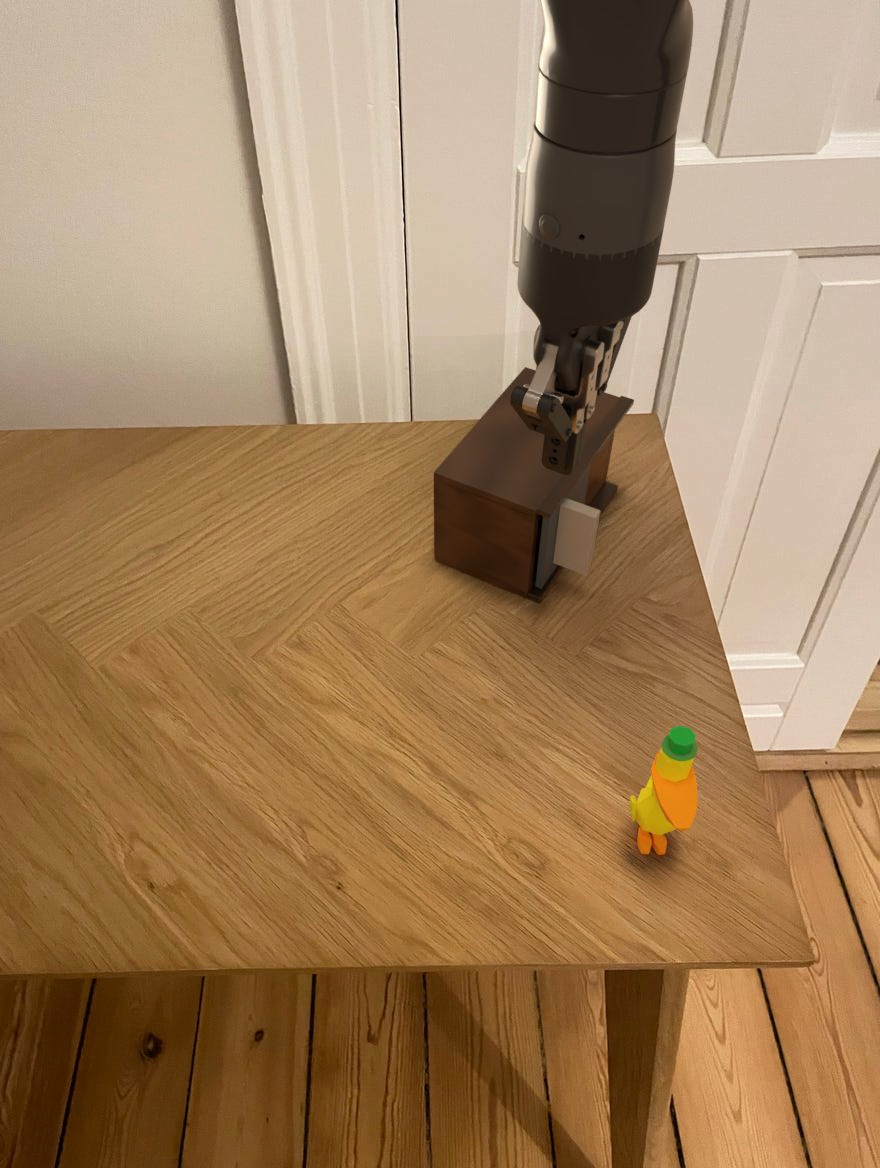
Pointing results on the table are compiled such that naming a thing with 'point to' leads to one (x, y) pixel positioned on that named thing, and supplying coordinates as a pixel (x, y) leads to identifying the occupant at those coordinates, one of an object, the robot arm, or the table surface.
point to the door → (568, 534)
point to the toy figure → (667, 792)
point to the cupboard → (513, 492)
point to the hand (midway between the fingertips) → (560, 464)
